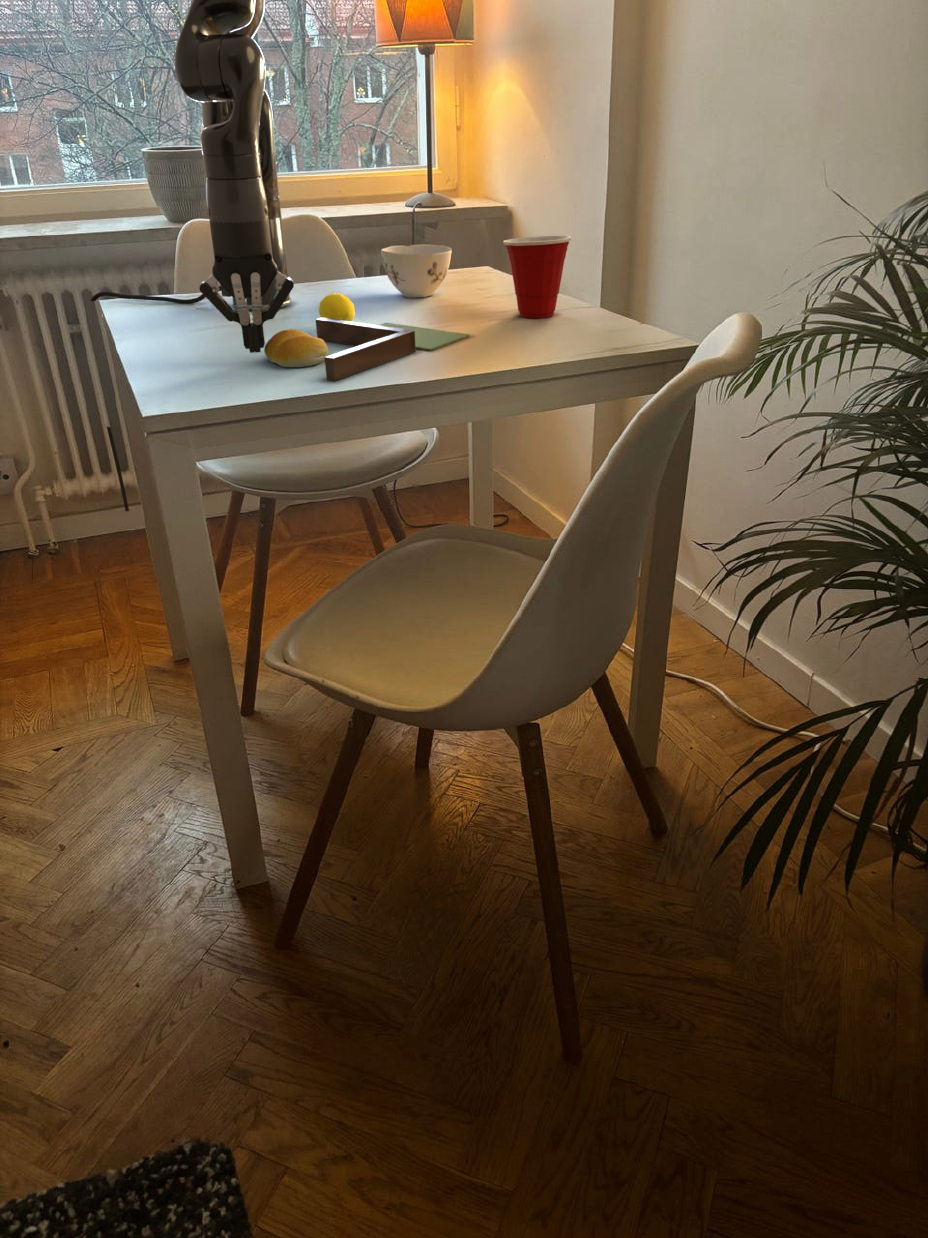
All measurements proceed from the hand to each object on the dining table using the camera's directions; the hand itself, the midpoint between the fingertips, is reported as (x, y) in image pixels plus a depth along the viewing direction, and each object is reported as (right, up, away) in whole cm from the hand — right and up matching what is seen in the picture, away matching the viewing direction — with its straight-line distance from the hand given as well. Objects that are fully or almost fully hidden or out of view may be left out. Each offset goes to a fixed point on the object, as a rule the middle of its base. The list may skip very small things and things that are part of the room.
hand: (255, 351), depth 129 cm
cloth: (+20, +6, +12) cm, 24 cm away
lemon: (+9, +9, +18) cm, 22 cm away
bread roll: (+6, -1, +2) cm, 6 cm away
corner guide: (+10, 0, +2) cm, 10 cm away
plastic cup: (+41, +13, +24) cm, 49 cm away
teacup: (+20, +22, +41) cm, 50 cm away
